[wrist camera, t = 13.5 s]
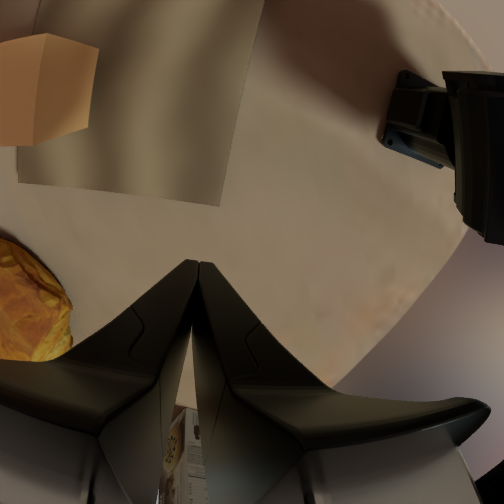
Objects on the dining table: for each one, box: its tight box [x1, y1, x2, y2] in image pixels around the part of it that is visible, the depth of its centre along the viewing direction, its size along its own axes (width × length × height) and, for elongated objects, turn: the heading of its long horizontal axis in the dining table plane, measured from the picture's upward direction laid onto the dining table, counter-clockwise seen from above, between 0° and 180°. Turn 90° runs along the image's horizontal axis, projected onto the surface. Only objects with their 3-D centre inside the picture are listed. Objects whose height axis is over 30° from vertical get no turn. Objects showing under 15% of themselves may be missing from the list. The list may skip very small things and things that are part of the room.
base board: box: [18, 0, 265, 206], centre depth 15 cm, size 16×20×1 cm
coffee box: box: [159, 408, 209, 504], centre depth 29 cm, size 9×6×16 cm
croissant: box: [0, 238, 73, 362], centre depth 21 cm, size 14×16×8 cm
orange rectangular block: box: [0, 33, 99, 146], centre depth 11 cm, size 5×5×7 cm
